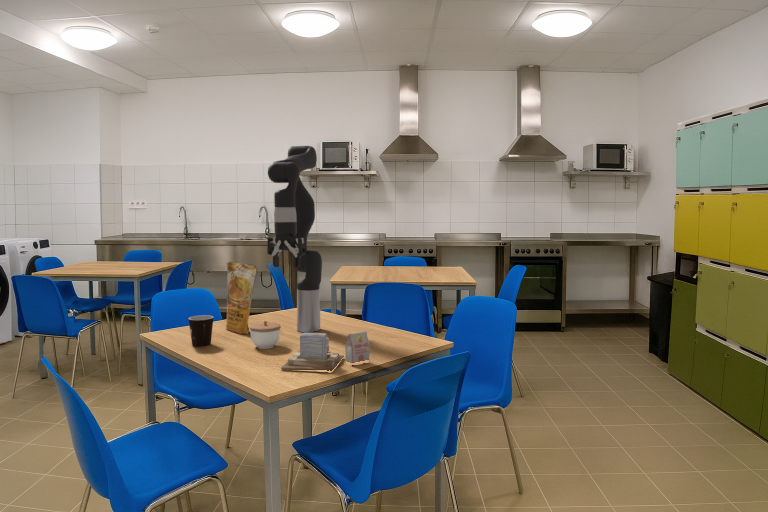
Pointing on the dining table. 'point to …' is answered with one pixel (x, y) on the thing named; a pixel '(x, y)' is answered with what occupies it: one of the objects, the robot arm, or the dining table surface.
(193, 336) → the coffee mug
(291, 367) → the socket plate
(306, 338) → the medicine box
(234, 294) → the pancake mix bag
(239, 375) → the dining table surface
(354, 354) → the white paper bag
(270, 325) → the lidded jar
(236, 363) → the dining table surface
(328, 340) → the maple block
